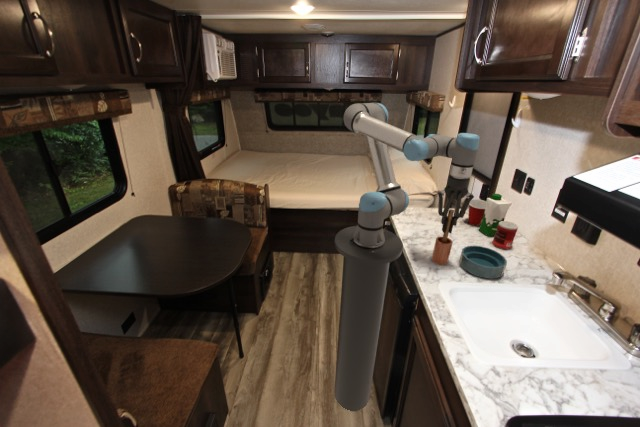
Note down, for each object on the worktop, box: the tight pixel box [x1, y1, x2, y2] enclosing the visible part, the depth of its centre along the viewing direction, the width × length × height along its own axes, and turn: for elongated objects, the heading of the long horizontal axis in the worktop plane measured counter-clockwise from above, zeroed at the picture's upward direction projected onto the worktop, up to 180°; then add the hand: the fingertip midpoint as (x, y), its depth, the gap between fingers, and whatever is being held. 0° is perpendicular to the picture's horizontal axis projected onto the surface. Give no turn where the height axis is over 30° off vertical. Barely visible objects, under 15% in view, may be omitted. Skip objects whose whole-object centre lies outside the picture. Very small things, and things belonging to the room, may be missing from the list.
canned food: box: [492, 220, 519, 250], centre depth 136 cm, size 8×8×11 cm
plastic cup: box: [467, 198, 487, 226], centre depth 156 cm, size 11×11×12 cm
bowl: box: [458, 245, 508, 279], centre depth 120 cm, size 16×16×6 cm
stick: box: [442, 208, 454, 244], centre depth 120 cm, size 3×3×22 cm
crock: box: [431, 236, 454, 266], centre depth 123 cm, size 6×6×10 cm
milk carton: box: [478, 193, 512, 237], centre depth 145 cm, size 9×9×20 cm
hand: (446, 231), depth 119 cm, fingers closed on stick, 2 cm apart
